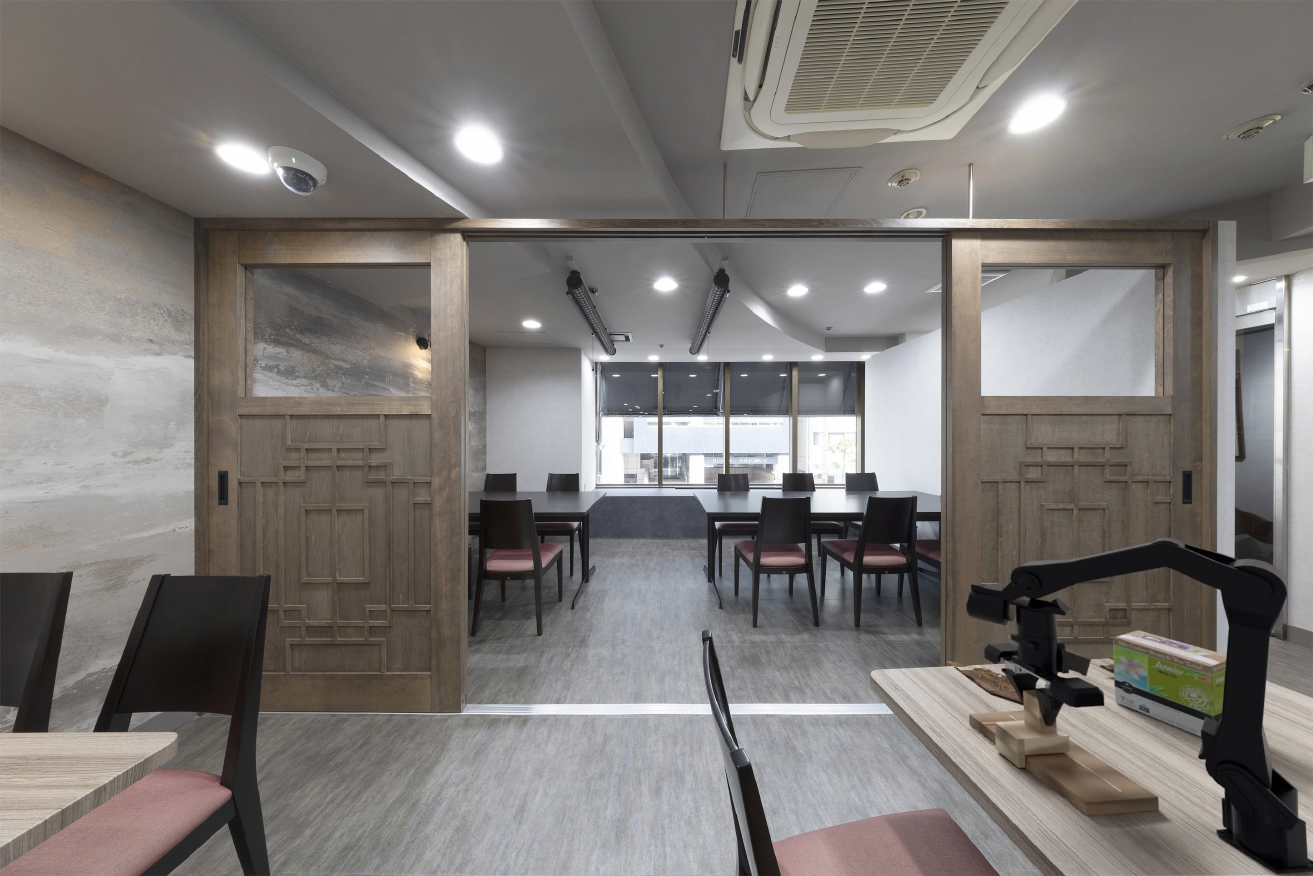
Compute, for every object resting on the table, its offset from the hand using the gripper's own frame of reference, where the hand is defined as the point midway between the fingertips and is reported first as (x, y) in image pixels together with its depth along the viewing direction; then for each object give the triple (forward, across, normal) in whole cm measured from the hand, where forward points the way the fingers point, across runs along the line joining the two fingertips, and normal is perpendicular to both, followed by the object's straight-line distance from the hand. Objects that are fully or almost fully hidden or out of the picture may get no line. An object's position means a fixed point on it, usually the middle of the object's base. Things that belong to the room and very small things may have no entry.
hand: (1040, 719), depth 84 cm
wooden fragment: (+7, +25, -13) cm, 29 cm away
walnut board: (+7, -1, -1) cm, 7 cm away
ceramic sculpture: (+7, +23, -49) cm, 55 cm away
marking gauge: (+6, 0, +2) cm, 7 cm away
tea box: (+7, +9, -38) cm, 40 cm away
